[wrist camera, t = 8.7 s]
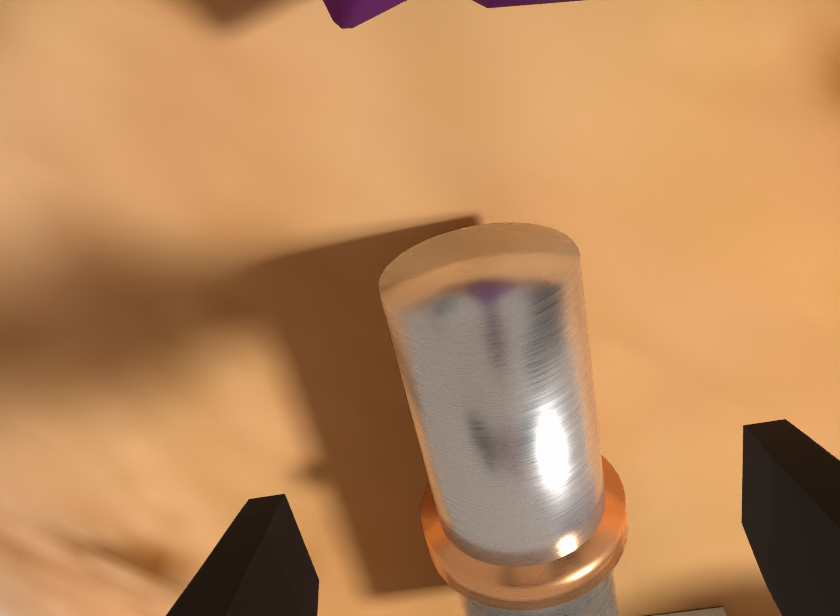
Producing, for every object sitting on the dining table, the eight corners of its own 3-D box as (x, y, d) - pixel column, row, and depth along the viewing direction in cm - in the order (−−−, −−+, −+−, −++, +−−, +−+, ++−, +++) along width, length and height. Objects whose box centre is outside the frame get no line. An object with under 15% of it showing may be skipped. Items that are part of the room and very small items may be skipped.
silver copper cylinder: (577, 198, 19) (630, 304, 14) (616, 569, 25) (661, 728, 20) (366, 238, 19) (345, 353, 14) (459, 590, 26) (466, 749, 21)
